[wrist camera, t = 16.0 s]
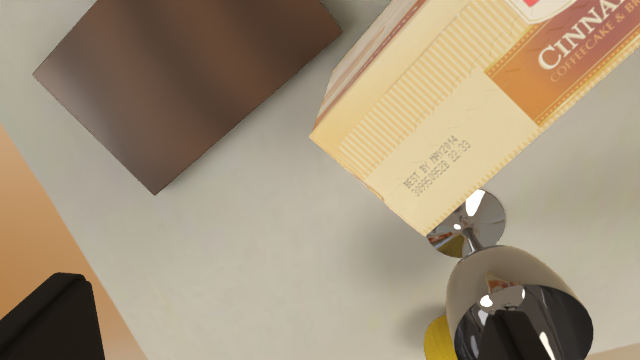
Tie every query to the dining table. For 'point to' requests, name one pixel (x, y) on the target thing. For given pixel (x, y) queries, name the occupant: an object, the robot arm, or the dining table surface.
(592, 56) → the coffeecake box
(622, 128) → the dining table surface
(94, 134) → the cutting board
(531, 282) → the wine glass
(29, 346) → the robot arm
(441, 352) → the lemon
